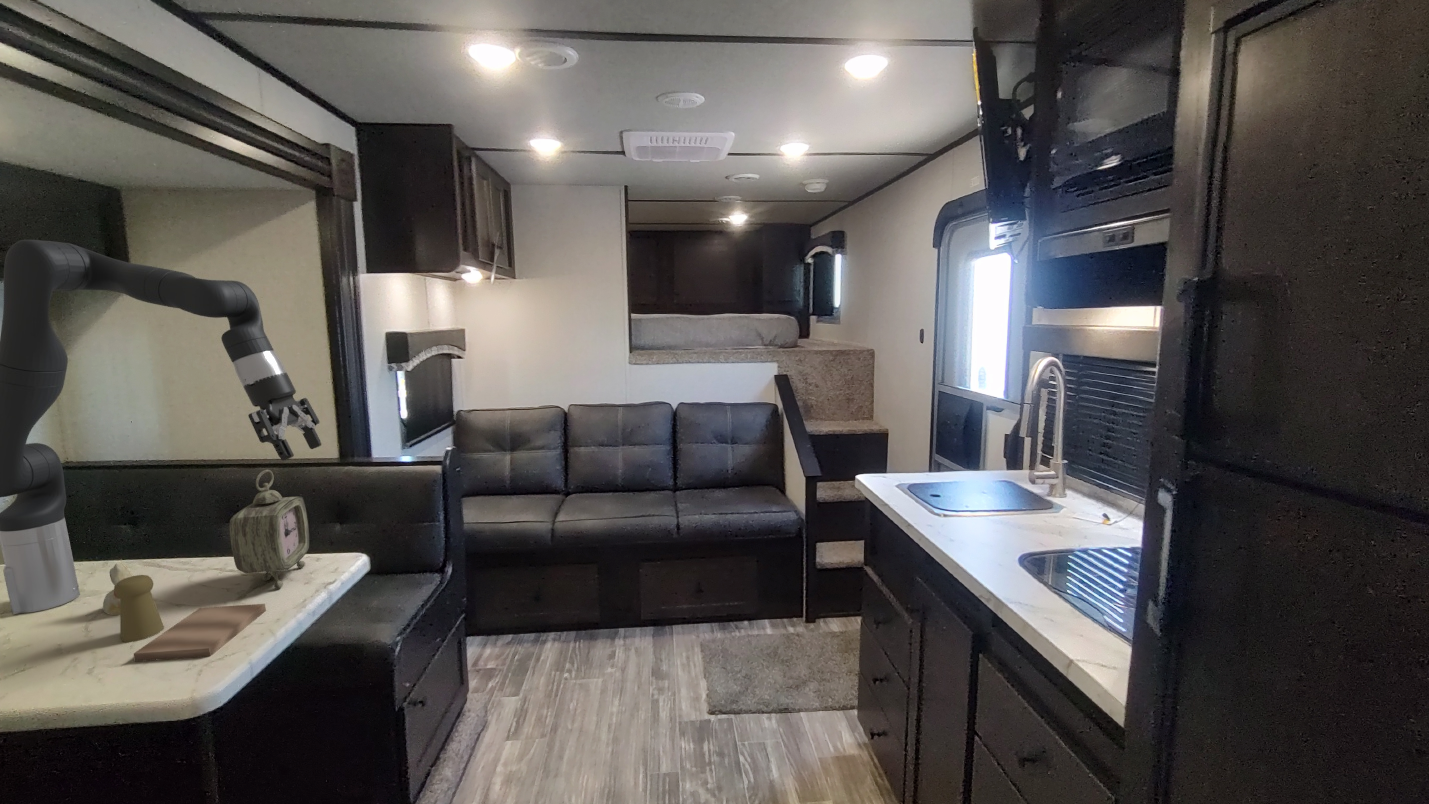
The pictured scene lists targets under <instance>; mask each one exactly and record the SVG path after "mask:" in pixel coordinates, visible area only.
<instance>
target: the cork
mask: <svg viewBox="0 0 1429 804" xmlns="http://www.w3.org/2000/svg"><path fill="white" fill-rule="evenodd" d="M114 586H115V585H114ZM153 587H154V580H153V579H152V577H150V576H149V575H147V574H137V575H134V576H132V577H128V578H125V579H123V580H121V581H119V582H118V583H117V584H116V586H115V589H114V588H113V590H114V591H115V594H116V596H117V597H118V598H120V616H119V617H120V619H119V620H120V623H119V626H120V630H119V640H120V641H121V642H123V641H124V643H131V642H132V641H133V642H137V641H141V640H145V639H148V637H149V638H151V637H154V636H155V634H156V635H157V634H160V631H161V632H162V631H163V630H164V628H165V626H164V623H163V621H162V618H161V616H160V613H159V610H158V608H157V604H156V602H155V600H154V597H153V594H152V590H153Z"/></svg>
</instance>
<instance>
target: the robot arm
mask: <svg viewBox="0 0 1429 804" xmlns="http://www.w3.org/2000/svg"><path fill="white" fill-rule="evenodd" d="M81 290H82V291H83V290H84V291H85V290H87V291H90V290H91V291H107V292H108V291H110V292H115V293H120V294H124V295H126V296H128V297H130V298H133V299H135V300H137V301H141V302H145V303H148V304H152V305H156V306H157V305H158V306H163V307H169V308H173V309H180V310H181V311H184V312H187V313H191V314H193V315H196V316H201V317H205V318H214V319H219V318H227V320H228V324H229V329H228V330H226V331H224V332H223V333H222V335H221V337H220V338H221V342H222V344H223V345H222V346H223V347H224V349H225V351H226V353H227V355H228V357H229V359H230V361H231V363H232V365H233V367H234V370H235V373H236V376H237V378H238V380H239V382H240V384H241V385H242V387H243V389H244V391H245V393H246V395H247V397H248V399H249V401H250V403H251V404H252V406H253V407H255V408H259V409H258V410H256V411H253V412H251V413H248V419H249V421H250V423H251V425H252V428H253V429H254V432H255V434H256V436H257V438H258V440H259V442H260V443H261V444H264V443H269V444H270V445H271V444H272V446H273V448H274V450H275V451H276V454H277V456H278V458H280V459H281V460H282V461H286V460H289V459H292V458H293V457H294V456H295V454H294V453H293V450H292V449H291V446H290V445H289V443H288V441H287V439H286V438H285V431H286V429H287V428H288V426H290V427H292V428H296V429H298V431H301V434H302V437H304V439H305V441H306V443H307V445H308V447H309V449H311V450H314V449H316V448H319V447H321V446H322V442H321V440H320V439H321V438H319V436H318V433H317V431H316V426H317V425H318V424H320V423H321V422H320V420H319V418H318V416H317V414H316V412H315V410H314V409H313V406H312V404H311V403H310V402H309V400H308V398H307V397H304V398H301V399H298V400H296V399H295V398H294V395H295V394H297V393H296V392H297V390H296V387H295V386H294V385H293V382H292V381H291V378H290V376H289V374H288V373H287V370H286V369H285V366H284V365H283V362H282V361H281V359H280V358H279V356H278V355H277V353H276V352H275V350H274V348H273V346H272V343H271V342H270V340H269V338H268V336H267V334H266V332H265V331H264V322H263V317H262V312H261V307H260V303H259V300H258V297H257V296H256V294H255V292H253V290H252V289H251V288H250V287H249V286H248V285H247V284H246V283H244V282H242V281H238V280H221V279H220V280H219V279H206V278H199V277H196V276H193V275H192V274H189V273H186V272H182V271H178V270H173V269H168V268H163V267H162V268H161V267H157V266H150V265H144V264H139V263H138V264H137V263H133V262H127V261H123V260H120V259H116V258H112V257H110V256H107V255H104V254H101V253H98V252H96V251H93V250H90V249H88V248H84V247H81V246H78V245H76V244H74V243H73V244H72V243H70V242H69V243H68V242H63V241H50V240H43V239H42V240H40V239H39V240H38V239H20V240H18V241H16V242H14V243H13V244H12V245H11V246H10V247H9V248H8V250H7V253H6V255H5V259H4V265H3V307H2V308H3V310H2V311H3V312H2V320H1V328H0V329H1V330H0V498H4V497H5V498H6V497H10V496H15V495H16V497H15V499H14V500H13V502H12V503H11V504H10V505H9V506H7V507H6V508H4V509H3V510H2V511H1V512H0V547H1V552H2V556H3V557H2V558H3V560H4V561H3V562H4V568H3V570H2V571H3V576H4V582H5V586H6V591H7V596H8V600H9V604H10V609H11V614H12V615H16V614H17V615H18V614H23V613H24V614H26V613H33V612H35V613H36V612H39V611H44V610H48V609H53V608H56V607H58V606H62V605H65V604H67V603H69V602H71V601H73V600H75V599H76V598H78V597H79V596H80V595H81V594H80V588H79V583H78V577H77V574H76V568H75V562H74V558H73V552H72V549H71V548H72V547H71V543H70V538H69V533H68V528H67V523H66V518H65V512H64V511H65V508H66V504H67V494H66V493H67V492H66V485H65V476H64V469H63V465H62V462H61V458H60V457H59V455H58V454H57V451H55V450H54V449H53V448H52V447H50V446H48V445H47V444H44V443H39V442H31V443H27V441H28V438H29V436H30V433H31V431H32V429H33V428H34V427H35V425H36V424H37V423H38V421H40V419H41V418H42V417H43V416H44V415H45V414H46V413H47V411H48V410H49V409H50V408H51V407H52V406H53V404H54V403H55V402H56V401H57V399H58V398H59V396H60V395H61V393H62V391H63V388H64V385H65V382H66V381H65V380H66V373H67V369H68V362H69V360H68V358H69V357H68V355H67V352H66V350H65V347H64V345H63V344H62V342H61V340H60V338H59V337H58V336H57V333H56V332H55V330H54V329H53V327H52V324H51V321H50V306H51V299H52V295H53V292H72V291H73V292H74V291H81ZM309 417H310V419H311V420H310V419H309ZM264 430H265V432H266V434H265V432H264ZM284 438H285V439H284Z"/></svg>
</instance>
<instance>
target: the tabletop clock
mask: <svg viewBox="0 0 1429 804" xmlns="http://www.w3.org/2000/svg"><path fill="white" fill-rule="evenodd" d="M267 473H268V474H270V481H269V482H264V483H263V484H262V487H260V486H259V481H260V479H261V478H262V476H263V475H264V474H267ZM274 478H275V477H274V473H273V471H272V470H270V469H263V470H262V471H260V472H259V473H258V474H257V476H256V479H255V488H256V489H257V490H258V493H257V494H256V495H255V497H254V498H253V502H252V503H251V504H249V505H246V506H245V507H244V508H242V509H241V510H238V512H236V513H235V514H234V515H233V516H232V517H231V518H230V520H229V536H230V545H231V551H232V556H233V560H234V562H233V563H234V564H235V565H234V566H235V568H236V569H237V570H238V571H240V572H242V573H244V574H255V573H256V574H257V573H264V574H262V576H261V578H262V580H263V581H264V582H267V581H269V580H270V579H271V578H272V577H273V579H274V581H275V582H274V583H273V587H274V589H277V590H278V589H281V588H282V587H283V585H284V582H283V581H281V580H279V575H278V571H286V570H290V569H291V568H293V567H294V566H295V565H296V567H297V568H299V569H301V568H305V566H306V562H305V560H302V559H303V558H304V557H305V555H306V554H307V553H308V551H309V549H310V530H309V520H308V513H307V509H306V503H305V499H304V498H303V496H287V497H283V496H282V495H281V493H280V492H279V491H276V490H274V489H270V488H272V485H273V483H274Z"/></svg>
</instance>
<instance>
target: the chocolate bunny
mask: <svg viewBox="0 0 1429 804" xmlns="http://www.w3.org/2000/svg"><path fill="white" fill-rule="evenodd" d="M132 576H135V575H133V574H132V573H131V571H130V570H129V569H128V568H127V566H126V565H125V564H124V563H122V562H116V563H115V564H114V566H113V567H112V568H110V569H109V578H110V581H111V583H112V584H113V586H114V588H113V589H112V590H111V591H109V592H107V593H106V595H105V596H104V599H103V602H102V608H103V609H102V610H103V612H104V614H108V615H112V616H118V615H117V614H120V598H118V597H117V596H116V594H115V591H114V589H115V586H116V584H117V583H118V582H119V581H121V580H123V579H125V578H128V577H132Z"/></svg>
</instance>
